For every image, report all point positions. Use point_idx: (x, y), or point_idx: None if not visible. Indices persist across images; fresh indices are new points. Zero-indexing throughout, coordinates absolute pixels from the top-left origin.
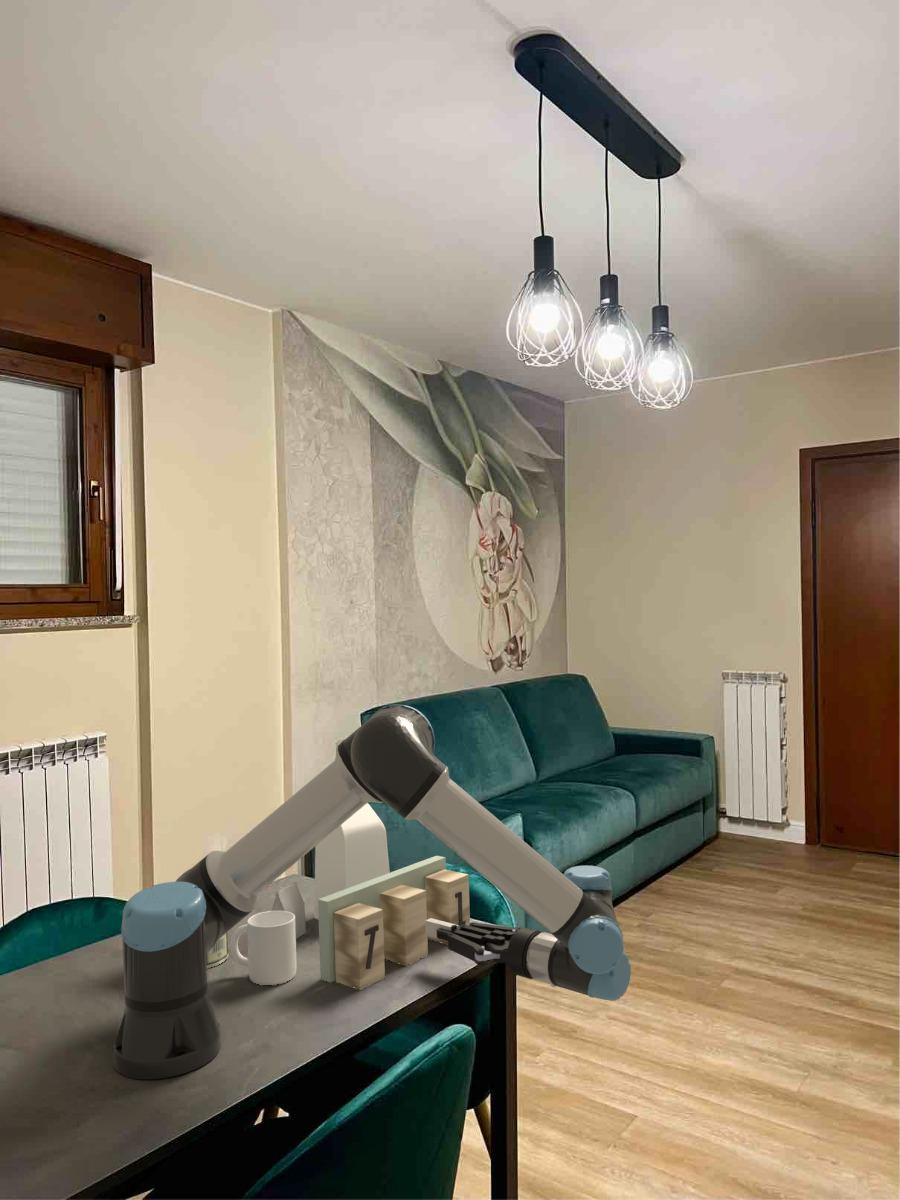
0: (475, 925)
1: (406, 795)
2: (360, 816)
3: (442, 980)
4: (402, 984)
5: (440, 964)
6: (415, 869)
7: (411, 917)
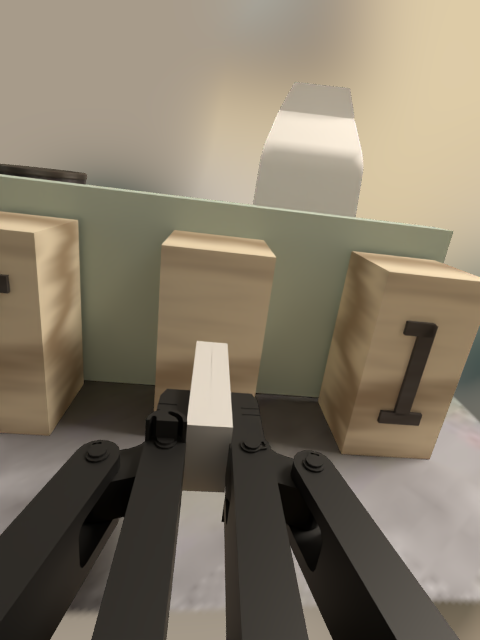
0: (306, 488)
1: None
2: (321, 132)
3: (89, 590)
4: (11, 491)
5: (218, 499)
6: (325, 217)
7: (191, 316)
